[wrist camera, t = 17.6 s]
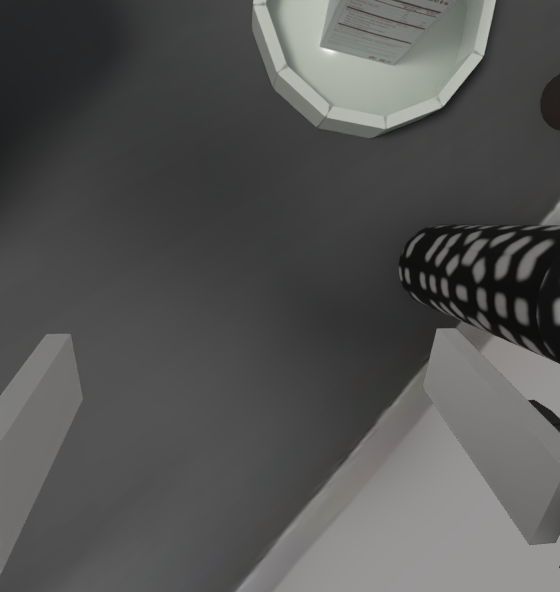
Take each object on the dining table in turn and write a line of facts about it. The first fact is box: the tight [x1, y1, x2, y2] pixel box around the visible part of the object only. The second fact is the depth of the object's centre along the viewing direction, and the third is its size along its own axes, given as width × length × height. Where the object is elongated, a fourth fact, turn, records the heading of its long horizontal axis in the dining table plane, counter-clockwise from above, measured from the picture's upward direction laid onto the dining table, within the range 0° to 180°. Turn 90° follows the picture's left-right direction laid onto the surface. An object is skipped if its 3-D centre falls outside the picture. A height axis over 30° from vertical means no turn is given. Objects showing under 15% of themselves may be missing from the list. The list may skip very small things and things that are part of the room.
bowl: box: [252, 0, 496, 138], centre depth 36 cm, size 20×20×4 cm
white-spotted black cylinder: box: [399, 225, 560, 364], centre depth 33 cm, size 8×8×20 cm
